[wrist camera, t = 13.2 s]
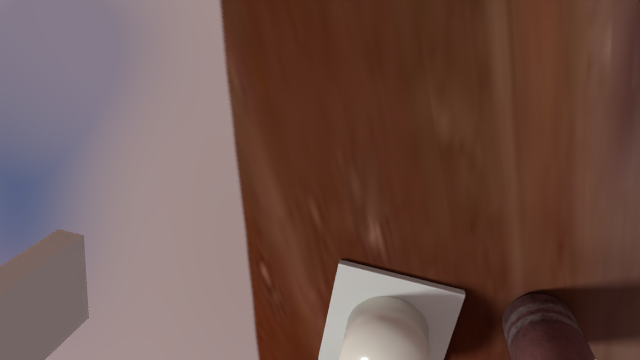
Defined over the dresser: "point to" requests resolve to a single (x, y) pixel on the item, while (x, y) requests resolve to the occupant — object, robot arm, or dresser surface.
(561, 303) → the can
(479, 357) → the dresser surface
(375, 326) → the cloche
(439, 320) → the mat
